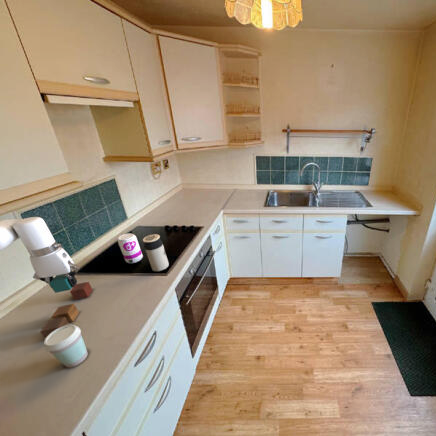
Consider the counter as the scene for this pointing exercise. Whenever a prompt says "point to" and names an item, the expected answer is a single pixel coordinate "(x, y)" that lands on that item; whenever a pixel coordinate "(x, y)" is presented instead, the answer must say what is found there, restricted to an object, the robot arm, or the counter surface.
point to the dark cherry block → (81, 291)
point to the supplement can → (130, 248)
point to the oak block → (66, 312)
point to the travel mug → (155, 252)
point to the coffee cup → (66, 345)
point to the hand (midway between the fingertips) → (65, 286)
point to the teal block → (60, 283)
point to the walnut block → (53, 325)
